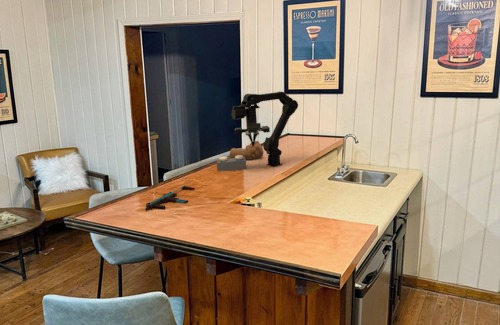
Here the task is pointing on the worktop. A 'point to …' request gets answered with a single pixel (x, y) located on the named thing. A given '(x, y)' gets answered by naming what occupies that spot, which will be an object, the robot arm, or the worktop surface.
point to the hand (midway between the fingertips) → (253, 145)
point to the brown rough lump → (248, 151)
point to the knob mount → (231, 164)
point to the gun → (167, 199)
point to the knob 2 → (239, 157)
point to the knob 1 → (223, 158)
